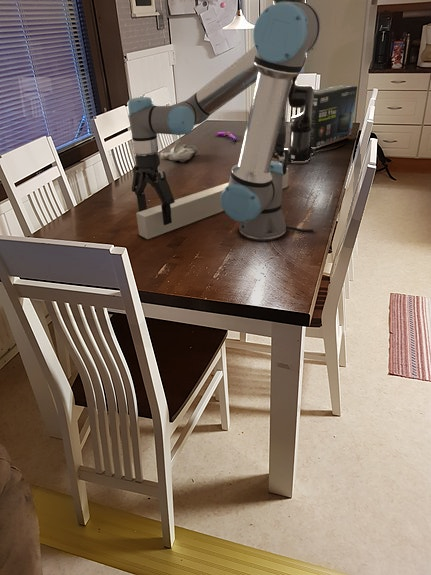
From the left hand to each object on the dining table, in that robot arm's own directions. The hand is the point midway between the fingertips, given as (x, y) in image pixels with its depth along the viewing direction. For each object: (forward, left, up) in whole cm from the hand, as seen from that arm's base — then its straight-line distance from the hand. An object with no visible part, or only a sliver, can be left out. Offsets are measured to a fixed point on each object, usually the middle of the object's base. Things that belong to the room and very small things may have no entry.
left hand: (155, 218), depth 150 cm
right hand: (-18, -56, +2) cm, 59 cm away
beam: (-9, -28, -5) cm, 30 cm away
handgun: (+42, -125, -5) cm, 132 cm away
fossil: (+44, -79, -5) cm, 90 cm away
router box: (-13, -134, -5) cm, 135 cm away
